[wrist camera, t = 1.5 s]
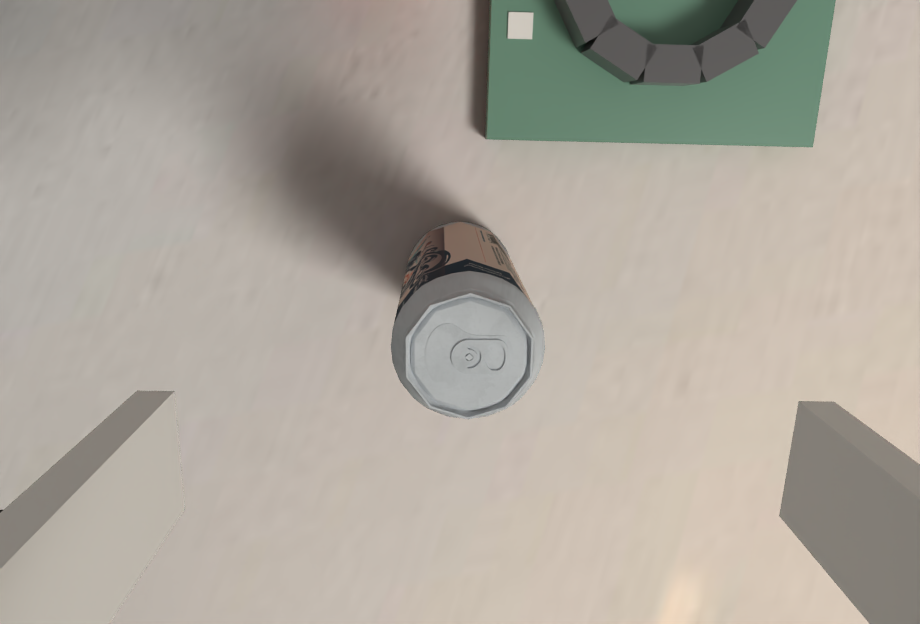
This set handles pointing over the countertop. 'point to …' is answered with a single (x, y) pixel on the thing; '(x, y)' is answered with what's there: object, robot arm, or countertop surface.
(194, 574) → the countertop surface
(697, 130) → the green board with ring
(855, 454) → the robot arm
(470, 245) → the beer can
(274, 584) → the countertop surface
